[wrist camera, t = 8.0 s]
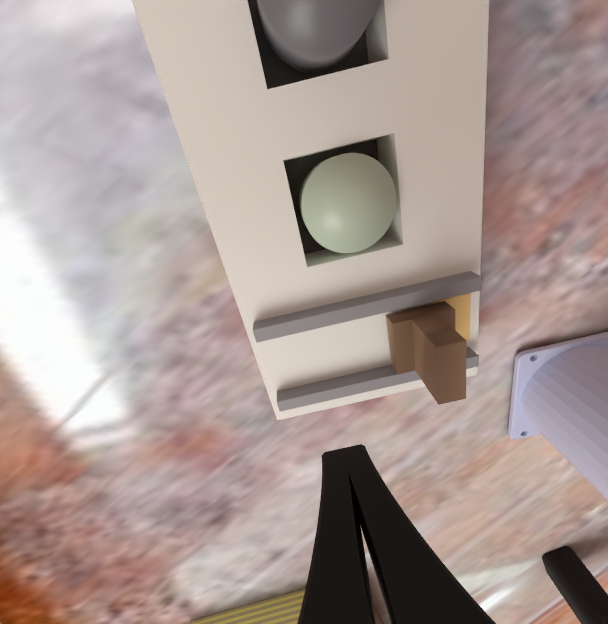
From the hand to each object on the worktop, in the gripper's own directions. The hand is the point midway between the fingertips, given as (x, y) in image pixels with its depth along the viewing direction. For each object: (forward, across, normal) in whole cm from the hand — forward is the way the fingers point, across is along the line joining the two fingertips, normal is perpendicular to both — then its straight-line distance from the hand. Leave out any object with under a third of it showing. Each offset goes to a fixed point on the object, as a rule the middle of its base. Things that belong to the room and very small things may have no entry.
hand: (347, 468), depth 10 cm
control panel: (+9, -3, -7) cm, 12 cm away
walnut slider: (+7, -5, 0) cm, 8 cm away
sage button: (+9, -3, -7) cm, 12 cm away
